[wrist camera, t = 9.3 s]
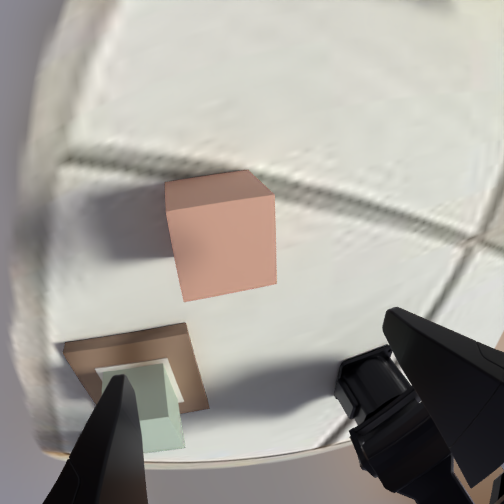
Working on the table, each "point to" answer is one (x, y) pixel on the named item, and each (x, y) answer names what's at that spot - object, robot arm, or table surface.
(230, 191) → the dusty pink cube
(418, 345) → the robot arm
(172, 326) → the tower base
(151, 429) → the brick sage
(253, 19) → the table surface
